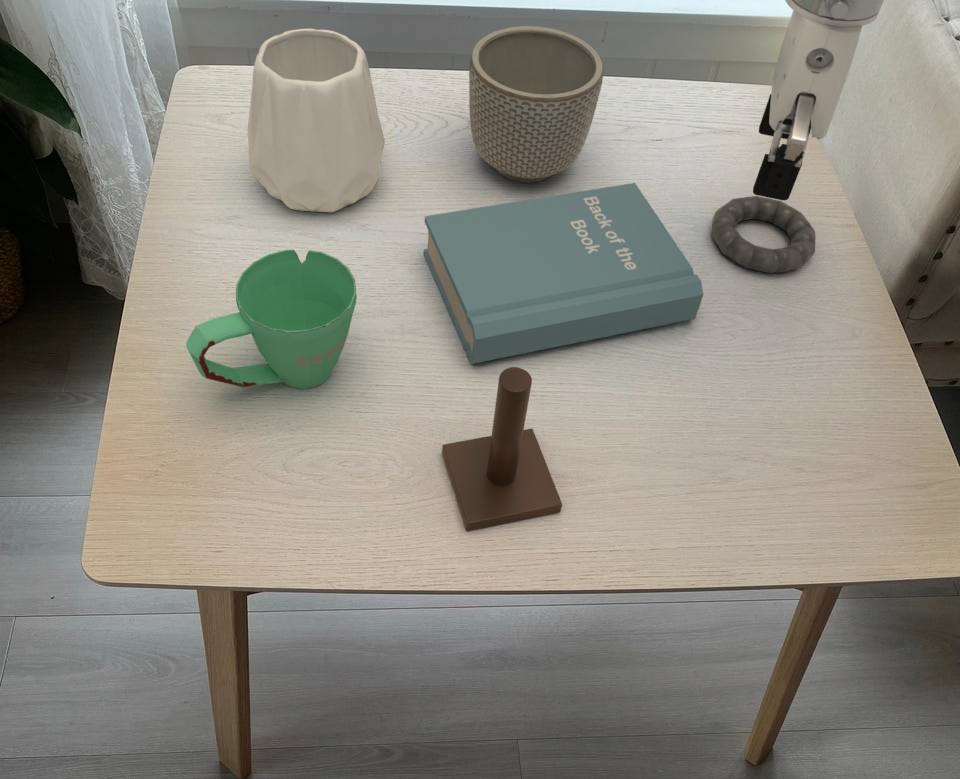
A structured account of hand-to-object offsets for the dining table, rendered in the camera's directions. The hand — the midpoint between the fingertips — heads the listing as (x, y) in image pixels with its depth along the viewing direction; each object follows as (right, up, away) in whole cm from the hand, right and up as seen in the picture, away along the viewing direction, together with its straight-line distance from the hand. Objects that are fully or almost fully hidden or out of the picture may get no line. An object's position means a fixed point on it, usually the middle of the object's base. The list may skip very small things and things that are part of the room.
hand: (772, 164), depth 88 cm
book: (-20, -11, +6) cm, 23 cm away
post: (-25, -29, -9) cm, 39 cm away
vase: (-45, +1, +15) cm, 47 cm away
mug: (-45, -20, -4) cm, 49 cm away
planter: (-22, +4, +19) cm, 30 cm away
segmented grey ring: (+3, -4, +12) cm, 13 cm away
